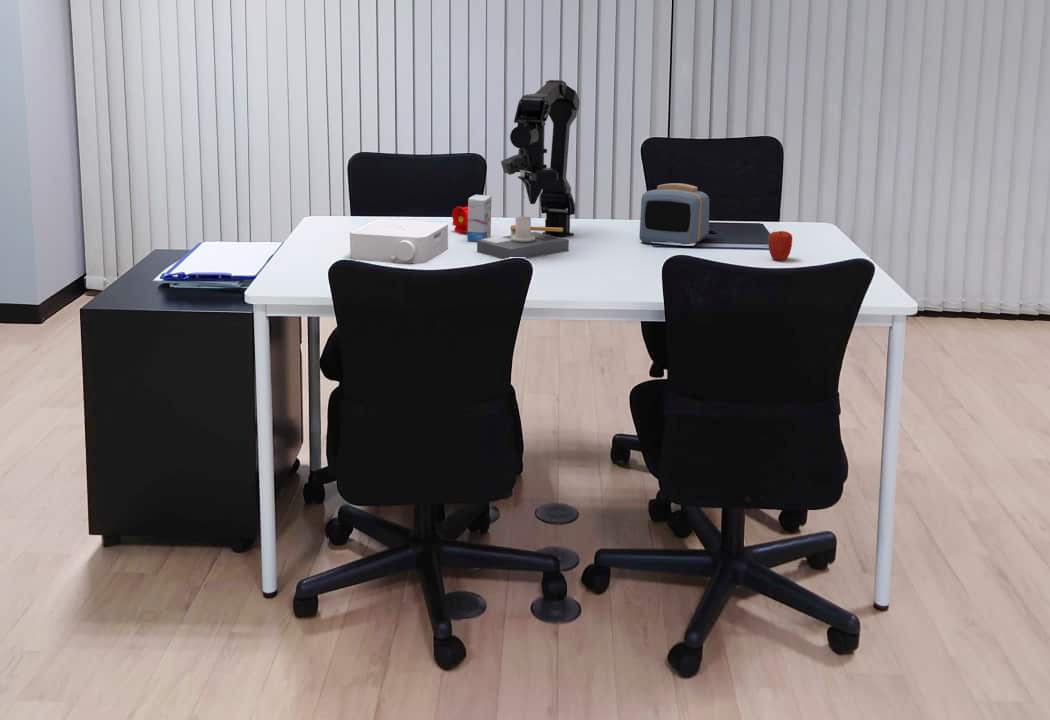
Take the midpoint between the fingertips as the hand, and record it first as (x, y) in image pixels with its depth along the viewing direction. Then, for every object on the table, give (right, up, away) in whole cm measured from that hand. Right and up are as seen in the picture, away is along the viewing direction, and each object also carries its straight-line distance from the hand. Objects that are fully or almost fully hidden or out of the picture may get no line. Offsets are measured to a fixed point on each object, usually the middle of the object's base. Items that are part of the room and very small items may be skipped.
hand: (532, 204), depth 360 cm
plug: (-3, -12, +2) cm, 13 cm away
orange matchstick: (+1, -6, +7) cm, 10 cm away
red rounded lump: (+64, -15, -5) cm, 66 cm away
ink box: (-15, -8, +18) cm, 24 cm away
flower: (-18, -5, +27) cm, 33 cm away
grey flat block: (-3, -12, +2) cm, 13 cm away
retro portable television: (+39, -8, +17) cm, 44 cm away
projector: (-35, -13, -1) cm, 37 cm away
